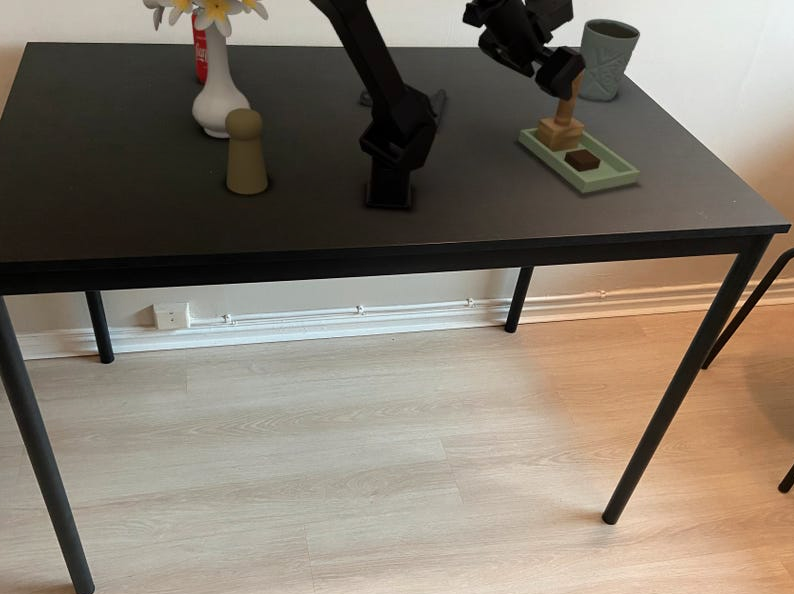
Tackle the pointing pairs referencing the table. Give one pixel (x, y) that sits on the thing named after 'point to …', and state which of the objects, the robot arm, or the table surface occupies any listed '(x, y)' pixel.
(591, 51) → the grey-green cup
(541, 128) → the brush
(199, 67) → the beverage can
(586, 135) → the tray
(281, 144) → the table surface
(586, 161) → the dark brown block
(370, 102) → the bracket
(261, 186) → the brown pawn
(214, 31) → the flower vase
